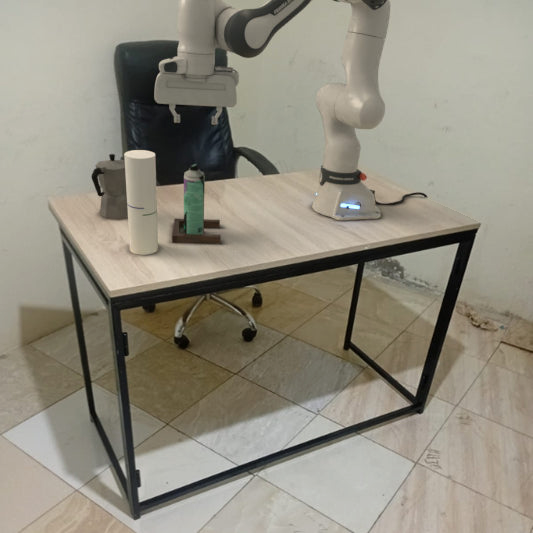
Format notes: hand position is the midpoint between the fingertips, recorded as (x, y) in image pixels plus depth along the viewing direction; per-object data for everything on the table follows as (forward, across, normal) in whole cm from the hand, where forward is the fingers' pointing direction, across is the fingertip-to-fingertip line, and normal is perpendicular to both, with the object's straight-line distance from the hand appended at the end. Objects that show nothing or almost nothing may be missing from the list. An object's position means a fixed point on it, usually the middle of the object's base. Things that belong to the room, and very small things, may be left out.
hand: (195, 123), depth 128 cm
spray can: (+31, 0, +1) cm, 31 cm away
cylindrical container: (+31, +13, +11) cm, 35 cm away
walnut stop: (+31, 0, +1) cm, 31 cm away
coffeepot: (+31, +24, -11) cm, 41 cm away
